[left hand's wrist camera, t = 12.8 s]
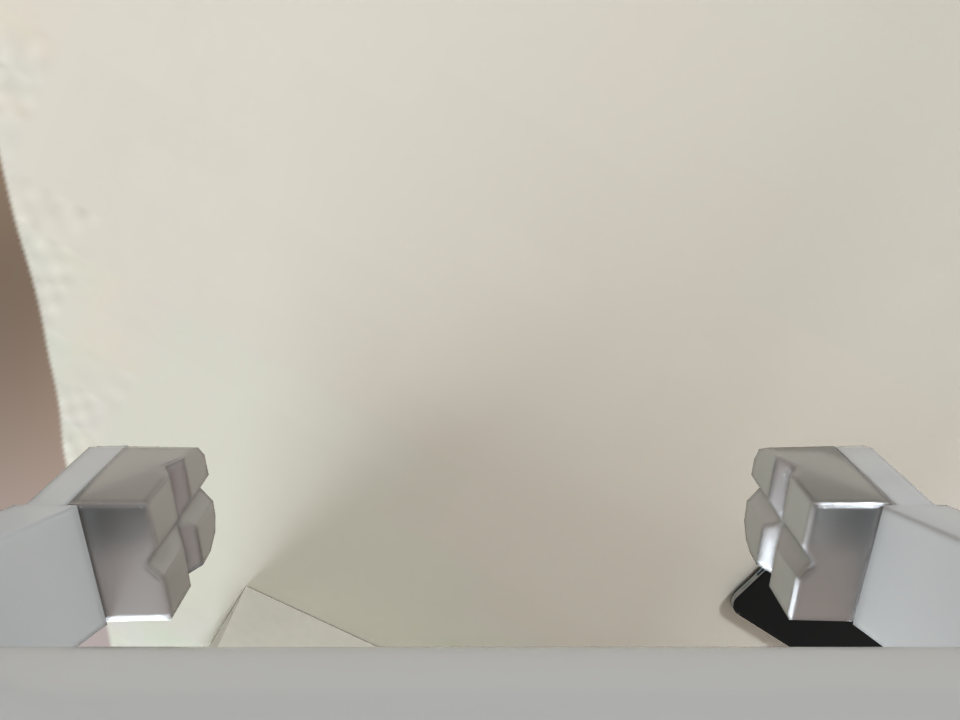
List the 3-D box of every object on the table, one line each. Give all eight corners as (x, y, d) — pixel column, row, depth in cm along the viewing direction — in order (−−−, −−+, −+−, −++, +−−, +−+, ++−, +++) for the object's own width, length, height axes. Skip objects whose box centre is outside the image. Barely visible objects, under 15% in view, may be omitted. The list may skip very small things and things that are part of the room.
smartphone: (800, 539, 47) (947, 638, 50) (795, 532, 47) (941, 632, 50) (726, 608, 49) (872, 699, 52) (723, 601, 49) (867, 692, 53)
